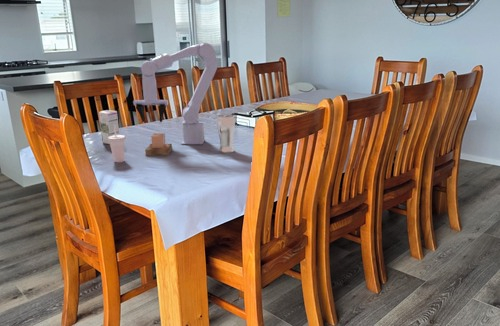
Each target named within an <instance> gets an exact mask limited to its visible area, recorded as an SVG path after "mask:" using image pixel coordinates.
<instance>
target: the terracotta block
mask: <svg viewBox="0 0 500 326" xmlns="http://www.w3.org/2000/svg"><path fill="white" fill-rule="evenodd" d="M150 137H151V144H152V148H164V146H165V145H166V144H167V143H166V133H165V132H164V133H152V135H151V136H150Z"/></svg>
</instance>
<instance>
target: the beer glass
mask: <svg viewBox="0 0 500 326" xmlns="http://www.w3.org/2000/svg"><path fill="white" fill-rule="evenodd" d="M235 127H236V126H235V115H234V114H231V113H230V114H229V113H227V114H226V113H223V114H218V115H217V130H218V131H217V132H218V137H219V140H220V141H219V142H220V143H219V144H220V145H219V152H220V153H222V154H230V153H234V152H235V148H234V135H235V132H236V131H235V130H236V129H235Z"/></svg>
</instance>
